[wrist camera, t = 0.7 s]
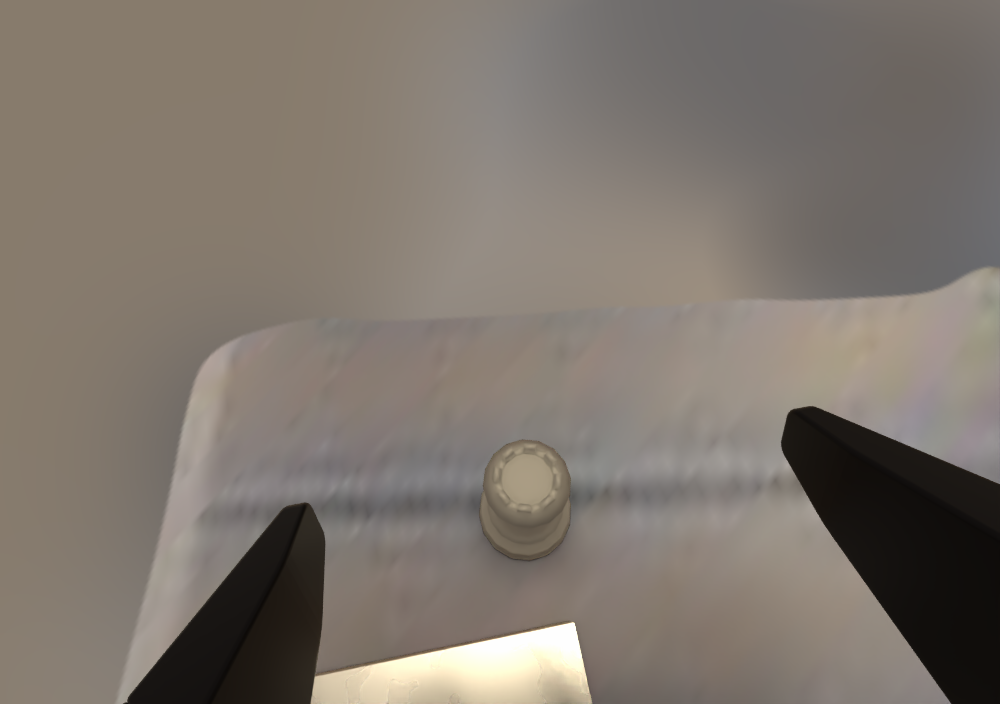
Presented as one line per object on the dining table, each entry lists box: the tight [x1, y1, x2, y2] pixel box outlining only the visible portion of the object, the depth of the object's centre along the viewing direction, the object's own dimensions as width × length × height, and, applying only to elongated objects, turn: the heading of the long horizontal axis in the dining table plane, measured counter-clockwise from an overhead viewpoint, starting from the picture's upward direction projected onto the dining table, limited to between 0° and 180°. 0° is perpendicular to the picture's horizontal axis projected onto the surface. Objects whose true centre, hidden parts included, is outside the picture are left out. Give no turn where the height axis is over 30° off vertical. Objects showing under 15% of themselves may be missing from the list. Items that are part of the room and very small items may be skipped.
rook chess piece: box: [479, 440, 571, 560], centre depth 22 cm, size 4×4×8 cm
